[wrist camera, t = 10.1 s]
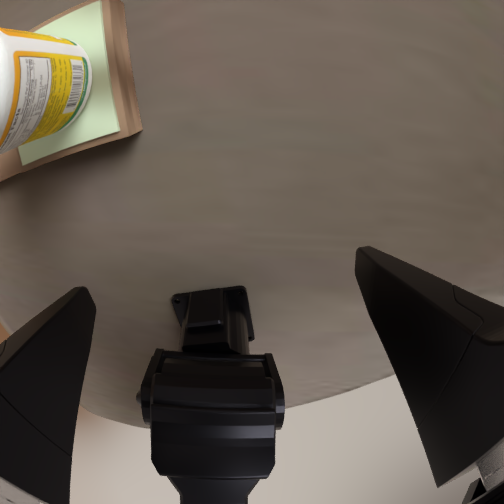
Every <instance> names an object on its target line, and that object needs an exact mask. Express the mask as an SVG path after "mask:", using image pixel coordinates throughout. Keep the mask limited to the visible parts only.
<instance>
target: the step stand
mask: <svg viewBox="0 0 504 504" xmlns="http://www.w3.org/2000/svg"><path fill="white" fill-rule="evenodd" d="M28 32H32V33H38V34H44V35H50V36H55V37H60V38H64V39H68V40H71V41H74V42H76V43H77V44H79V45H80V46H81V47H82V48H83V49H84V50H85V52H86V53H87V55H88V57H89V60H90V63H91V68H92V85H91V89H90V93H89V96H88V99H87V101H86V103H85V106H84V108H83V109H82V111H81V112H80V114H79V115H78V116H77V118H76V119H75V120H74V121H73V122H72V123H71V124H70V125H68V126H67V127H66V128H64V129H63V130H61V131H59V132H56V133H54V134H51V135H48V136H45V137H42V138H40V139H37V140H34V141H31V142H29V143H26V144H24V145H21V146H19V147H16V148H14V149H12V150H9V151H7V152H5V153H3V154H0V182H1V181H3V180H5V179H7V178H9V177H11V176H14V175H16V174H18V173H20V172H22V173H24V172H26V171H28V170H31V169H33V168H36V167H38V166H41V165H43V164H46V163H48V162H51V161H53V160H56V159H59V158H62V157H64V156H67V155H70V154H73V153H76V152H79V151H82V150H85V149H88V148H91V147H94V146H97V145H100V144H104V143H107V142H110V141H114V140H117V139H121V138H125V137H128V136H131V135H133V134H135V133H137V132H139V131H141V130H143V129H142V124H141V118H140V113H139V108H138V102H137V97H136V91H135V85H134V79H133V73H132V67H131V60H130V53H129V45H128V38H127V30H126V21H125V11H124V3H123V2H121V1H120V0H88V1H86V2H83V3H81V4H79V5H77V6H75V7H72V8H70V9H68V10H66V11H64V12H62V13H60V14H58V15H56V16H54V17H52V18H50V19H49V20H47V21H45V22H43V23H41V24H40V25H38V26H36V27H34V28H33V29H31V30H29V31H28Z"/></svg>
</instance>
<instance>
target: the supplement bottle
mask: <svg viewBox="0 0 504 504" xmlns="http://www.w3.org/2000/svg"><path fill="white" fill-rule="evenodd" d="M91 85H92V68H91V63H90V60H89V57H88V55H87V53H86V52H85V50H84V49H83V48H82V47H81V46H80V45H79V44H77V43H76V42H74V41H71V40H68V39H64V38H60V37H55V36H50V35H44V34H38V33H32V32H27V31H19V30H12V29H4V28H0V154H3V153H5V152H7V151H9V150H12V149H14V148H16V147H19V146H21V145H24V144H26V143H29V142H31V141H34V140H37V139H40V138H42V137H45V136H48V135H51V134H54V133H56V132H59V131H61V130H63V129H64V128H66V127H67V126H68V125H70V124H71V123H72V122H73V121H74V120H75V119H76V118H77V116H78V115H79V114H80V112H81V111H82V109H83V108H84V106H85V103H86V101H87V99H88V96H89V93H90V89H91Z"/></svg>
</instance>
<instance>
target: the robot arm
mask: <svg viewBox="0 0 504 504" xmlns="http://www.w3.org/2000/svg"><path fill="white" fill-rule="evenodd" d="M355 276H356V279H357V282H358V285H359V287H360V290H361V293H362V296H363V299H364V302H365V305H366V308H367V310H368V313H369V316H370V318H371V320H372V322H373V325H374V327H375V329H376V331H377V333H378V335H379V337H380V340H381V342H382V344H383V346H384V349H385V351H386V353H387V355H388V358H389V360H390V362H391V364H392V367H393V369H394V371H395V374H396V376H397V378H398V381H399V383H400V386H401V388H402V390H403V393H404V396H405V398H406V400H407V403H408V406H409V408H410V411H411V413H412V416H413V418H414V421H415V424H416V426H417V428H418V432H419V435H420V438H421V441H422V444H423V446H424V449H425V452H426V455H427V458H428V461H429V464H430V467H431V470H432V473H433V476H434V480H435V483H436V485H437V488H439V487H441V486H443V485H445V484H447V483H449V482H451V481H453V480H455V479H457V478H458V477H460V476H462V475H464V474H466V473H467V472H469V471H471V470H473V469H474V468H476V467H477V470H478V472H479V475H480V478H478V479H477V480H475V481H474V482H472V483H471V484H470V486H469V488H468V491H467V493H466V495H465V498H464V500H463V502H462V504H504V307H502V306H500V305H498V304H495V303H493V302H490V301H488V300H486V299H483V298H481V297H479V296H477V295H474V294H472V293H470V292H468V291H466V290H464V289H462V288H460V287H458V286H456V285H452V284H451V283H449V282H447V281H445V280H443V279H441V278H439V277H437V276H435V275H433V274H430V273H428V272H426V271H424V270H422V269H420V268H417V267H415V266H413V265H411V264H409V263H407V262H404V261H402V260H400V259H398V258H395V257H393V256H391V255H389V254H386V253H384V252H382V251H380V250H377V249H375V248H373V247H370V246H365V247H359V248H358V249H357V250H356V260H355ZM239 291H243V292H242V293H239ZM176 299H178V300H180V301H177V300H176ZM172 304H173V307H174V309H175V312H176V315H177V317H178V320H179V323H180V325H181V328H182V329H181V336H180V343H179V350H178V351H166V350H164V349H158V348H157V349H156V351H155V353H154V356H152V358H151V361H150V363H149V366H148V368H147V371H146V373H145V376H144V379H143V381H142V384H141V389H140V391H139V392H138V393H137V396H136V400H137V403H138V404H139V405H140V406H141V408H142V414H143V419H144V422H145V424H146V425H150V429H151V460H152V463H153V464H154V466H155V468H156V470H157V472H158V473H159V475H162V476H167V477H168V479H169V480H170V482H171V483H172V484H173V486H174V487H175V488H176V489H177V491H178V492H179V494H180V504H248V495H249V494H250V492H251V491H252V489H253V488H254V487H255V485H256V484H257V483H258V481H259V480H260V479H266V478H268V476H269V474H270V473H271V471H272V469H273V467H274V465H275V433H276V430H280V429H281V428H282V425H283V421H284V412H285V400H284V391H283V386H282V382H281V379H280V376H279V373H278V370H277V367H276V364H275V362H274V359H273V356H272V353H265V354H264V355H250V354H249V341H253V340H254V338H255V337H254V330H253V325H252V319H251V313H250V308H249V302H248V296H247V290H246V288H245V287H244V286H234V287H227V288H218V289H210V290H202V291H195V292H189V293H181V294H175V295H173V297H172ZM95 315H96V306H95V303H94V301H93V299H92V297H91V295H90V293H89V291H88V289H87V288H86V287H84V286H81V287H75V288H73V289H72V290H70V291H69V292H68V293H66V294H65V295H64V296H62V297H61V298H59V299H58V300H57V301H55V302H54V303H53V304H51V305H50V306H49V307H47V308H46V309H45V310H43V311H42V312H41V313H39V314H38V315H37V316H35V317H34V318H33V319H31V320H30V321H29V322H27V323H26V324H25V325H24V326H22V327H21V328H20V329H19V330H17V331H16V332H15V333H13V334H12V335H11V336H10V337H9V338H8V339H7V340H5V341H4V342H2V343H1V344H0V504H40V502H41V503H43V504H69V502H70V501H69V499H70V479H71V465H72V457H71V456H72V452H73V443H74V435H75V427H76V420H77V414H78V407H79V402H80V396H81V391H82V385H83V380H84V375H85V371H86V366H87V361H88V357H89V353H90V348H91V341H92V334H93V328H94V321H95ZM248 336H250V337H248Z"/></svg>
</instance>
